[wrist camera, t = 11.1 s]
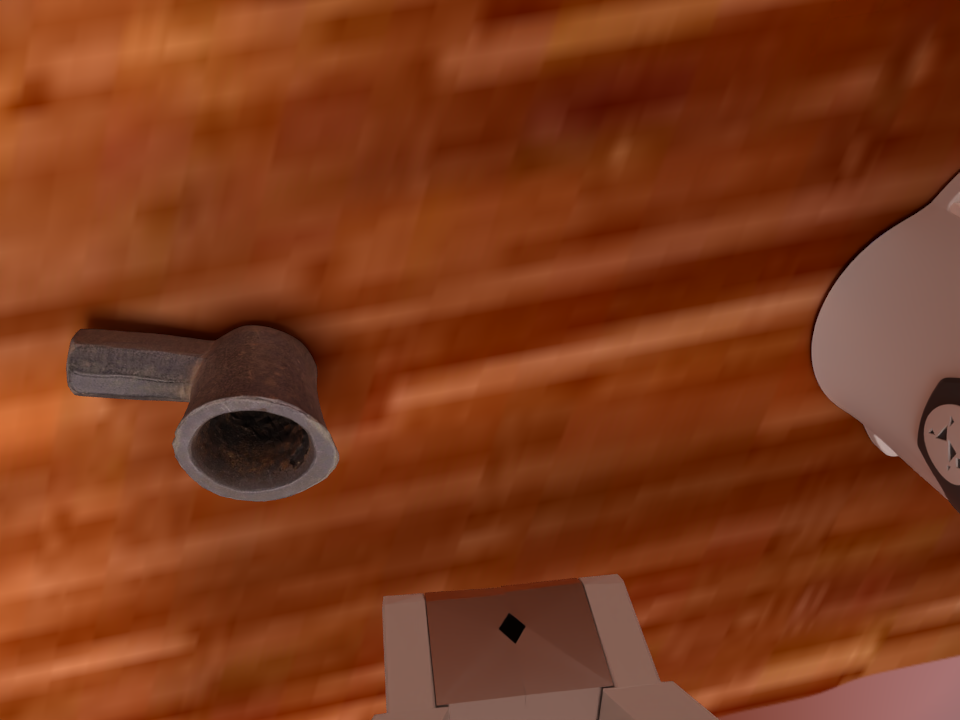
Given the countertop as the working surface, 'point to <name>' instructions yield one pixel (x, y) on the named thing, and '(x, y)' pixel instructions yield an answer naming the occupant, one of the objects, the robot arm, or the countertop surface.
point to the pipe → (220, 403)
